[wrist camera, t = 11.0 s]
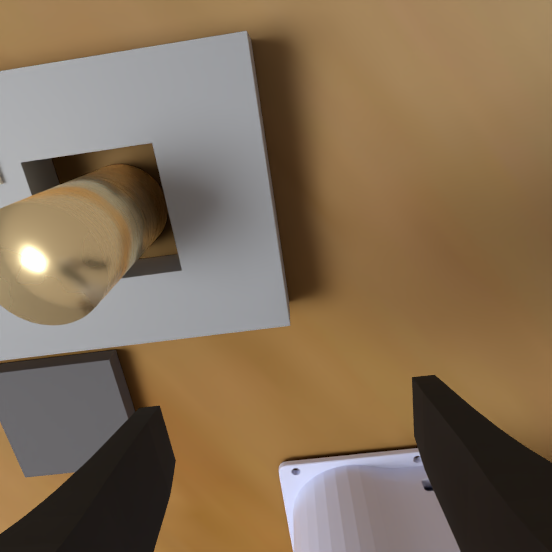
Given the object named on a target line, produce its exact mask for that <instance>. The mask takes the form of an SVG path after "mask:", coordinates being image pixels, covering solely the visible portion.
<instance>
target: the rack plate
mask: <svg viewBox="0 0 552 552" xmlns="http://www.w3.org/2000/svg"><path fill="white" fill-rule="evenodd" d="M148 143H152V144H153V148H154V153H155V157H156V161H157V166H158V170H159V174H160V178H161V183H162V187H163V191H164V195H165V200H166V204H167V208H168V213H169V217H170V221H171V225H172V230H173V234H174V238H175V242H176V247H177V251H178V254H175V255H168V256H160V257H153V258H145V259H138V260H137V261H136V262H135V263H134V264H133V265H132V267H131V268H130V269H129V270H128V271H127V272H126V273H125V274H124V276H123V277H122V278H121V279H120V280H119V281H118V282H117V284H116V285H115V286H114V287H113V288H112V289H111V290H110V291H109V293H108V294H107V295H106V296H105V297H104V298H103V299H102V300H101V302H100V303H99V304H98V305H97V306H96V307H95V308H94V309H93V310H92V311H91V312H90V313H89V314H88V315H86V316H85V317H83V318H81V319H80V320H77V321H75V322H72V323H69V324H64V325H41V324H37V323H32V322H29V321H27V320H24V319H22V318H19V317H17V316H15V315H14V314H12V313H10V312H9V311H7V310H6V309H5V308H3V307H2V306H1V305H0V361H1V360H9V359H18V358H26V357H34V356H43V355H51V354H59V353H67V352H76V351H84V350H92V349H100V348H109V347H117V346H125V345H133V344H142V343H150V342H158V341H166V340H175V339H183V338H191V337H200V336H208V335H216V334H224V333H233V332H241V331H249V330H257V329H266V328H274V327H282V326H290V311H289V298H288V291H287V284H286V277H285V270H284V263H283V256H282V249H281V242H280V236H279V229H278V222H277V215H276V208H275V201H274V194H273V187H272V180H271V174H270V167H269V160H268V153H267V146H266V139H265V132H264V125H263V119H262V112H261V105H260V98H259V91H258V84H257V77H256V70H255V63H254V57H253V50H252V43H251V38H250V36H249V35H248V33H247V31H243V32H237V33H231V34H225V35H219V36H213V37H206V38H200V39H194V40H188V41H182V42H176V43H170V44H164V45H158V46H151V47H145V48H139V49H133V50H127V51H121V52H115V53H109V54H103V55H96V56H90V57H84V58H78V59H72V60H66V61H60V62H54V63H47V64H41V65H35V66H29V67H23V68H17V69H11V70H5V71H0V208H3V207H5V206H7V205H10V204H12V203H15V202H17V201H20V200H22V199H25V198H27V197H30V196H32V195H35V194H38V193H40V192H43V191H45V190H48V189H50V188H53V187H55V186H58V185H60V184H59V181H58V177H57V174H56V171H55V168H54V165H53V162H52V159H51V158H55V157H61V156H68V155H75V154H81V153H88V152H95V151H101V150H108V149H115V148H121V147H128V146H135V145H141V144H148Z"/></svg>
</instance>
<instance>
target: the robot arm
mask: <svg viewBox="0 0 552 552" xmlns="http://www.w3.org/2000/svg"><path fill="white" fill-rule="evenodd" d="M412 388H413V416H414V437H415V440H416V443H417V447H418V448H413V449H403V450H393V451H384V452H374V453H364V454H354V455H344V456H334V457H325V458H315V459H305V460H295V461H286V462H283V463H281V464H280V466H279V476H280V482H281V487H282V493H283V498H284V504H285V509H286V515H287V520H288V526H289V531H290V537H291V542H292V548H293V552H552V463H551V462H550V461H548V460H546V459H545V458H543V457H541V456H540V455H538V454H536V453H535V452H533V451H531V450H530V449H528V448H527V447H525V446H524V445H522V444H521V443H519V442H518V441H516V440H515V439H514V438H512V437H511V436H509V435H508V434H506V433H505V432H504V431H502V430H501V429H499V428H498V427H497V426H495V425H494V424H493V423H492V422H490V421H489V420H488V419H487V418H485V417H484V416H483V415H481V414H480V413H479V412H478V411H476V410H475V409H474V408H473V407H471V406H470V405H469V404H468V403H467V402H466V401H464V400H463V399H462V398H461V397H460V396H458V395H457V394H456V393H455V392H454V391H453V390H452V389H450V388H449V387H448V386H447V385H446V384H445V383H444V382H442V381H441V380H440V379H439V378H438V377H436V376H435V375H429V376H420V377H412ZM415 456H419V457H417V458H414V457H415ZM175 461H176V460H175V457H174V453H173V450H172V446H171V443H170V440H169V436H168V433H167V429H166V426H165V422H164V419H163V416H162V412H161V409H160V406H153V407H144V408H139V409H138V410H137V411H136V412H135V413H134V414H133V415H132V416H131V417H130V418H129V419H128V420H127V421H126V422H125V423H124V424H123V425H122V426H121V427H120V428H119V429H118V430H117V431H116V432H115V433H114V434H113V435H112V436H111V437H110V438H109V439H108V440H107V442H106V443H105V444H104V445H103V446H102V447H101V448H100V449H99V450H98V451H97V452H96V453H95V454H94V455H93V456H92V457H91V458H90V459H89V460H88V461H87V462H86V463H85V464H84V465H83V466H81V467H80V468H79V469H78V470H77V471H76V472H75V473H74V474H73V475H72V476H71V477H70V478H69V479H68V480H67V481H66V482H65V483H63V484H62V485H61V486H60V487H59V488H58V489H57V490H56V491H55V492H53V493H52V494H51V495H50V496H49V497H48V498H46V499H45V500H44V501H43V502H42V503H40V504H39V505H38V506H37V507H35V508H34V509H33V510H32V511H31V512H29V513H28V514H27V515H26V516H24V517H23V518H22V519H20V520H19V521H18V522H16V523H15V524H14V525H12V526H11V527H9V528H8V529H7V530H5V531H4V532H3V533H1V534H0V552H154V548H155V545H156V542H157V538H158V535H159V532H160V528H161V525H162V522H163V518H164V515H165V511H166V508H167V504H168V501H169V497H170V493H171V487H172V481H173V475H174V468H175ZM294 468H298V470H294Z"/></svg>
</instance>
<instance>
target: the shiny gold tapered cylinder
mask: <svg viewBox="0 0 552 552" xmlns="http://www.w3.org/2000/svg"><path fill="white" fill-rule="evenodd" d="M167 216H168V208H167V204H166V200H165V195H164V193H163V191H162V189H161V187H160V186H159V184H158V183H157V182H156V181H155V180H154V179H153V178H152V177H151V176H150V175H149V174H147V173H146V172H145V171H143V170H141V169H139V168H136V167H134V166H130V165H124V164H115V165H110V166H106V167H103V168H101V169H98V170H96V171H93V172H91V173H88V174H86V175H83V176H81V177H78V178H76V179H73V180H70V181H68V182H65V183H63V184H60V185H58V186H55V187H53V188H50V189H48V190H45V191H43V192H40V193H38V194H35V195H32V196H30V197H27V198H25V199H22V200H20V201H17V202H15V203H12V204H10V205H7V206H5V207H3V208H0V305H1V306H2V307H3V308H5V309H6V310H7V311H9V312H10V313H12V314H14V315H15V316H17V317H19V318H22V319H24V320H27V321H29V322H32V323H37V324H41V325H64V324H69V323H72V322H75V321H77V320H80V319H81V318H83V317H85V316H86V315H88V314H89V313H90V312H91V311H92V310H93V309H94V308H95V307H96V306H97V305H98V304H99V303H100V302H101V300H102V299H103V298H104V297H105V296H106V295H107V294H108V293H109V291H110V290H111V289H112V288H113V287H114V286H115V285H116V284H117V282H118V281H119V280H120V279H121V278H122V277H123V276H124V274H125V273H126V272H127V271H128V270H129V269H130V268H131V267H132V265H133V264H134V263H135V262H136V261H137V260H138V259H139V258H140V256H141V255H142V254H143V253H144V252H145V251H146V250H147V249H148V247H149V246H150V245H151V244H152V243H153V242H154V241H155V240H156V238H157V237H158V236H159V235H160V234H161V232H162V231H163V229H164V227H165V224H166V221H167Z"/></svg>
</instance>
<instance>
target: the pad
mask: <svg viewBox="0 0 552 552" xmlns="http://www.w3.org/2000/svg"><path fill="white" fill-rule="evenodd" d="M134 413H135V409H134V406H133V403H132V400H131V397H130V393H129V390H128V387H127V384H126V381H125V377H124V374H123V371H122V368H121V365H120V361H119V358H118V355H117V352H116V350H110V351H101V352H93V353H85V354H76V355H68V356H60V357H51V358H43V359H35V360H27V361H18V362H10V363H2V364H0V422H1V424H2V427H3V429H4V431H5V433H6V436H7V438H8V440H9V442H10V444H11V447H12V449H13V451H14V453H15V455H16V458H17V460H18V462H19V464H20V467H21V469H22V471H23V473H24V475H25V477H34V476H43V475H53V474H62V473H72V472H76V471H77V470H78V469H79V468H80V467H81V466H83V465H84V464H85V463H86V462H87V461H88V460H89V459H90V458H91V457H92V456H93V455H94V454H95V453H96V452H97V451H98V450H99V449H100V448H101V447H102V446H103V445H104V444H105V443H106V442H107V440H108V439H109V438H110V437H111V436H112V435H113V434H114V433H115V432H116V431H117V430H118V429H119V428H120V427H121V426H122V425H123V424H124V423H125V422H126V421H127V420H128V419H129V418H130V417H131V416H132V415H133V414H134Z"/></svg>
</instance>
